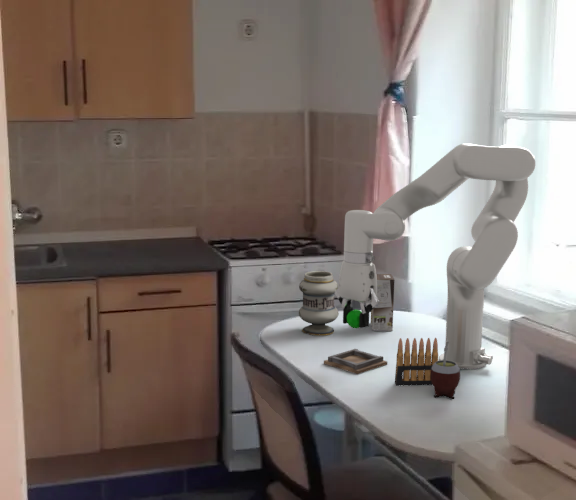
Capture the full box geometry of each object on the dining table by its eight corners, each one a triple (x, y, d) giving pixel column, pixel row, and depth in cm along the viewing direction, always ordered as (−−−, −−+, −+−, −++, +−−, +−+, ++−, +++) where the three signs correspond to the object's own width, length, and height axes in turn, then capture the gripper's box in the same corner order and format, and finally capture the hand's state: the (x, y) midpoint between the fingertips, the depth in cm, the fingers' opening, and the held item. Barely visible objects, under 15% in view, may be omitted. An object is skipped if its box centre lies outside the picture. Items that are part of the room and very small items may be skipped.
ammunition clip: (436, 382, 215) (438, 336, 212) (438, 385, 213) (440, 338, 211) (394, 383, 214) (396, 337, 212) (396, 385, 212) (397, 339, 210)
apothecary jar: (290, 331, 259) (290, 273, 256) (315, 323, 268) (316, 267, 265) (321, 339, 252) (322, 279, 248) (346, 330, 261) (347, 273, 257)
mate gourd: (445, 388, 210) (447, 329, 207) (468, 398, 204) (471, 337, 201) (422, 394, 206) (424, 334, 203) (444, 404, 200) (447, 342, 197)
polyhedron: (345, 325, 229) (345, 307, 228) (363, 325, 229) (364, 307, 229) (347, 330, 224) (348, 312, 223) (366, 330, 225) (366, 312, 224)
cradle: (387, 364, 229) (387, 357, 228) (357, 374, 220) (357, 366, 220) (353, 354, 237) (353, 347, 237) (323, 363, 229) (324, 356, 228)
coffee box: (393, 331, 261) (395, 279, 258) (372, 330, 261) (373, 279, 258) (390, 323, 270) (392, 273, 267) (370, 323, 270) (371, 273, 267)
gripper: (392, 260, 220) (389, 329, 223) (343, 251, 232) (341, 316, 235) (373, 264, 215) (371, 334, 218) (324, 254, 227) (322, 320, 230)
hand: (355, 324), depth 227 cm, fingers closed on polyhedron, 5 cm apart
